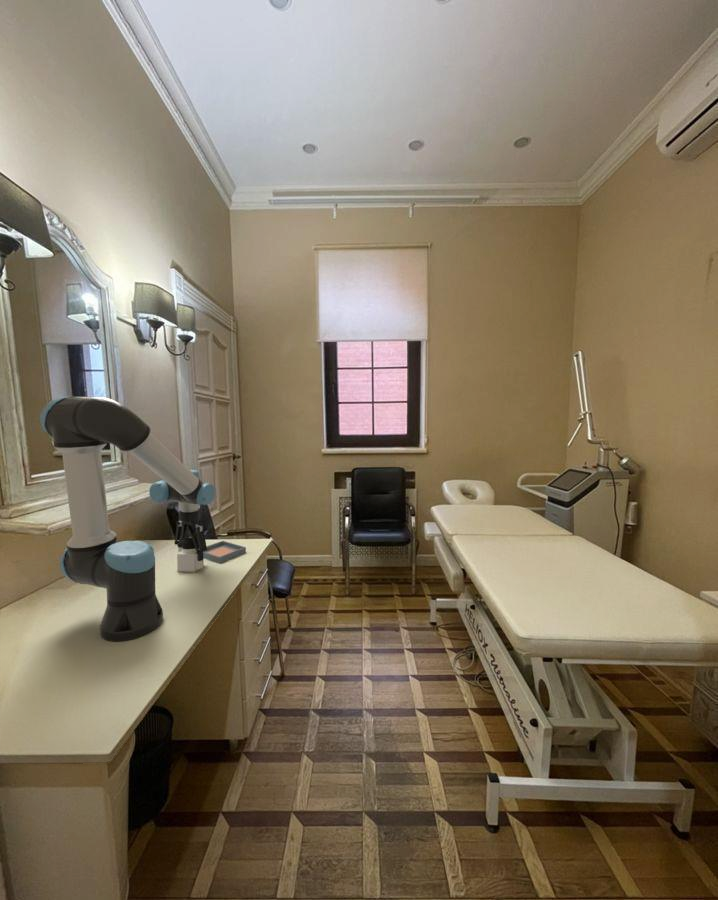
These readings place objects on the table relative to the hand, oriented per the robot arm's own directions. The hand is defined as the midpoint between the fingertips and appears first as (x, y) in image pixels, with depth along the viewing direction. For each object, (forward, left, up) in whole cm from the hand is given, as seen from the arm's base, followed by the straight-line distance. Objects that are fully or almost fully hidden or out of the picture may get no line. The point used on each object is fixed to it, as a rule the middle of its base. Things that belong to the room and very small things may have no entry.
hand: (190, 565), depth 142 cm
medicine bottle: (0, 0, -1) cm, 1 cm away
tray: (+16, +2, -1) cm, 16 cm away
